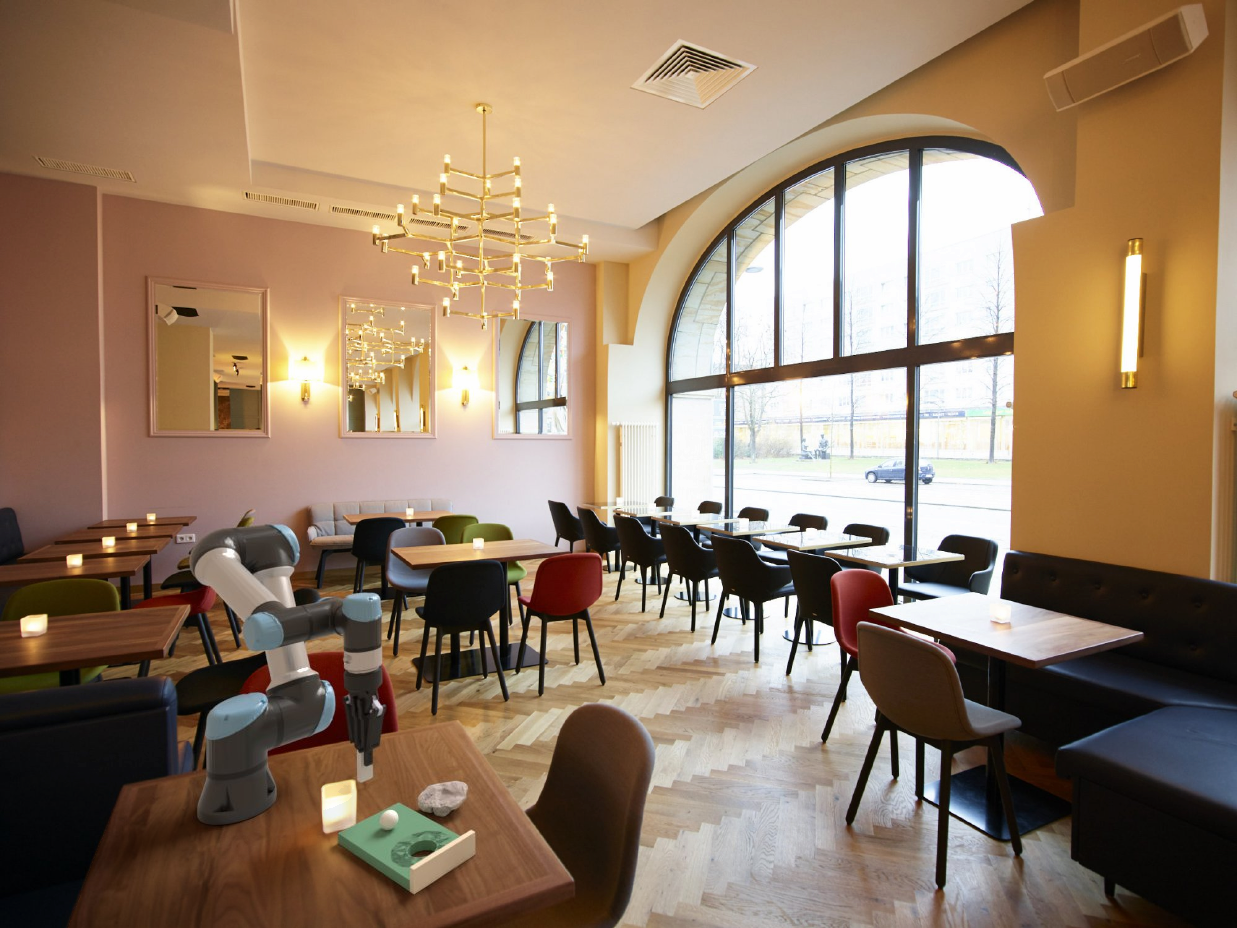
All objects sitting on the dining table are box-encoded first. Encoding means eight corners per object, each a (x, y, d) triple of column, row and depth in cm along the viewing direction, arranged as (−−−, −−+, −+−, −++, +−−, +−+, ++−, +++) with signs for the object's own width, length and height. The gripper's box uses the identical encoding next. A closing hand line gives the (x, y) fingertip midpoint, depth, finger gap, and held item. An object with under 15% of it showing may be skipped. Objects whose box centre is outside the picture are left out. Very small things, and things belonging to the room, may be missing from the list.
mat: (338, 842, 127) (337, 821, 127) (398, 811, 138) (398, 791, 138) (414, 894, 112) (413, 869, 112) (475, 854, 123) (475, 831, 123)
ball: (376, 829, 128) (375, 812, 128) (391, 821, 131) (391, 804, 131) (386, 836, 126) (386, 818, 126) (402, 827, 129) (402, 809, 129)
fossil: (460, 808, 134) (418, 788, 135) (450, 833, 135) (408, 813, 136) (474, 783, 143) (435, 764, 144) (465, 807, 144) (425, 789, 145)
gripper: (329, 667, 134) (331, 777, 134) (364, 678, 126) (366, 795, 126) (362, 657, 140) (364, 763, 140) (397, 668, 132) (398, 780, 132)
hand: (365, 778), depth 133 cm, fingers closed
